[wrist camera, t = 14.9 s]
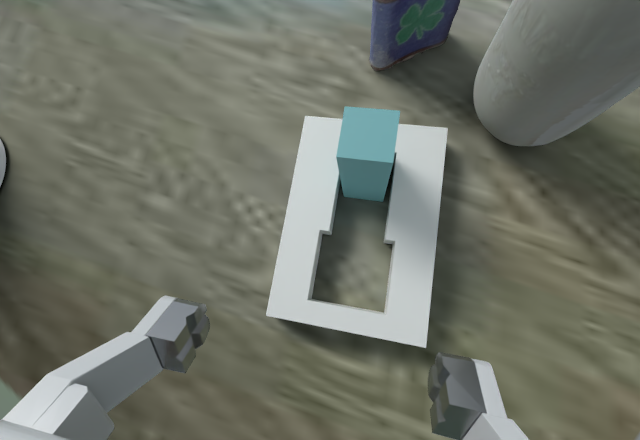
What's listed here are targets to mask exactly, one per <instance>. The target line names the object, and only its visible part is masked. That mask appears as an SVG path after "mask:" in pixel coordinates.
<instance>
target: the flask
mask: <svg viewBox="0 0 640 440" xmlns="http://www.w3.org/2000/svg"><path fill="white" fill-rule="evenodd" d="M459 3H460V0H373V9H372V25H371V50H370V58H369V60H370V64H371V67H372V68H373V69H374V70H375V71H378V70H386V69H390V68H392V66H393V65H394V64H397V63H399V62H404V61H406V60H409V59H411V58H412V57H414V56H415V54H416V53H419V52H420V53H423V52H424V51H425V50H427V49H432V48H434V47H436V46H439V45H443V44H444V42H445V41H446V39H447V36H448V33H449V30H450V27H451V24H452V21H453V18H454V16H455V14H456V12H457V10H458V6H459Z"/></svg>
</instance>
